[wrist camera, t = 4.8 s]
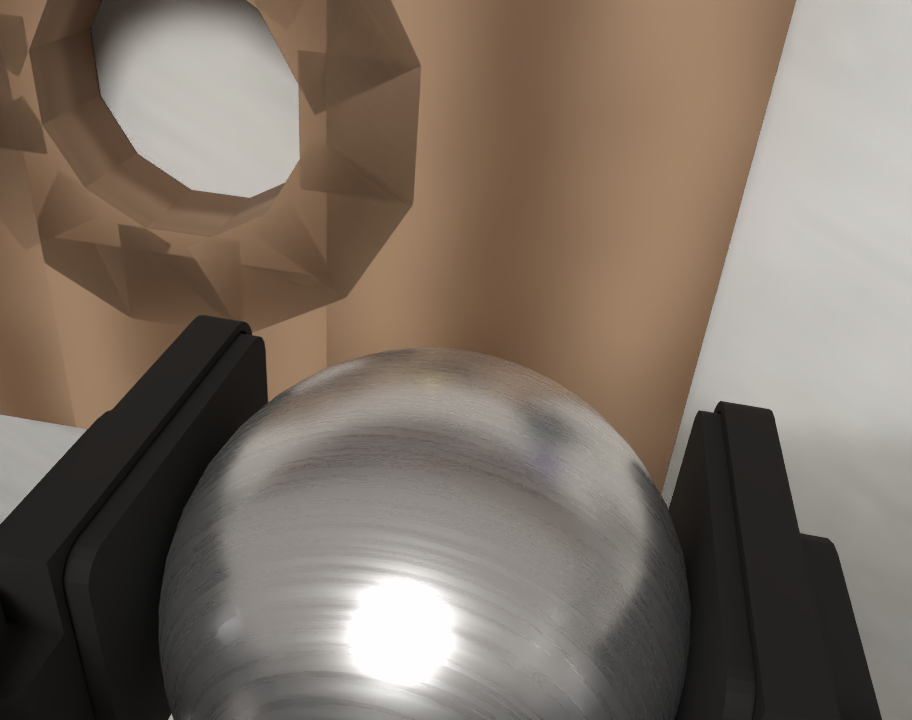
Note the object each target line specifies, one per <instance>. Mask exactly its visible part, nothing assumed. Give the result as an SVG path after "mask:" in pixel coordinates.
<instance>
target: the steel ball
mask: <svg viewBox="0 0 912 720" xmlns="http://www.w3.org/2000/svg"><path fill="white" fill-rule="evenodd" d="M690 619H691V602H690V596H689V589H688V582H687V575H686V569H685V563H684V556H683V552H682V549H681V546H680V543H679V540H678V537H677V534H676V531H675V528H674V525H673V522H672V520H671V517H670V514H669V511H668V508H667V505H666V503H665V502H664V500H663V498H662V496H661V494H660V492H659V490H658V488H657V487H656V485H655V483H654V481H653V479H652V478H651V476H650V474H649V473H648V471H647V469H646V468H645V466H644V464H643V463H642V462H641V460H640V459H639V457H638V456H637V455H636V453H635V452H634V451H633V449H632V448H631V447H630V445H629V444H628V443H627V441H626V440H625V439H624V438H623V437H622V436H621V435H620V434H619V433H618V432H617V431H616V430H615V429H614V428H613V427H612V426H611V425H610V424H609V423H608V422H607V421H606V420H605V419H604V418H603V417H602V416H601V415H600V414H599V413H598V412H597V411H596V410H595V409H593V408H592V407H591V406H590V405H588V404H587V403H586V402H585V401H583V400H582V399H581V398H580V397H578V396H577V395H576V394H574V393H573V392H571V391H570V390H568V389H566V388H565V387H563V386H561V385H560V384H558V383H557V382H555V381H553V380H552V379H550V378H548V377H546V376H544V375H542V374H539V373H537V372H535V371H533V370H531V369H529V368H527V367H525V366H522V365H519V364H516V363H513V362H510V361H507V360H504V359H501V358H498V357H495V356H490V355H486V354H481V353H477V352H472V351H467V350H458V349H449V348H440V347H430V348H404V349H396V350H388V351H382V352H378V353H374V354H370V355H366V356H362V357H358V358H354V359H350V360H346V361H343V362H340V363H338V364H336V365H333V366H331V367H328V368H326V369H323V370H321V371H318V372H317V373H315V374H313V375H311V376H309V377H307V378H305V379H303V380H302V381H300V382H298V383H297V384H295V385H293V386H291V387H290V388H288V389H286V390H285V391H283V392H281V393H280V394H278V395H277V396H276V397H274V398H273V399H272V400H271V401H270V402H268V403H267V404H266V405H265V406H264V407H262V408H261V409H260V410H259V411H258V412H256V413H255V414H254V415H253V416H252V417H250V418H249V419H248V420H247V421H246V422H245V423H243V424H242V425H241V426H240V427H239V428H238V430H237V431H236V432H235V433H234V434H233V436H232V437H231V438H230V439H229V440H228V441H227V443H226V444H225V445H224V446H223V447H222V449H221V450H220V451H219V452H218V454H217V455H216V456H215V457H214V458H213V460H212V461H211V462H210V463H209V465H208V466H207V468H206V470H205V472H204V473H203V475H202V477H201V479H200V481H199V482H198V484H197V486H196V488H195V489H194V491H193V493H192V495H191V497H190V498H189V500H188V502H187V504H186V506H185V507H184V509H183V512H182V515H181V518H180V520H179V523H178V526H177V529H176V532H175V535H174V537H173V540H172V543H171V546H170V549H169V552H168V555H167V559H166V564H165V570H164V576H163V582H162V587H161V596H160V604H159V651H160V662H161V668H162V674H163V680H164V686H165V691H166V695H167V699H168V703H169V707H170V710H171V713H172V716H173V719H174V720H674V718H675V716H676V713H677V711H678V707H679V703H680V698H681V694H682V690H683V686H684V681H685V676H686V669H687V661H688V653H689V645H690Z"/></svg>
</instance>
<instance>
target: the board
mask: <svg viewBox="0 0 912 720" xmlns="http://www.w3.org/2000/svg"><path fill="white" fill-rule="evenodd" d="M247 1H248V2H249V3H251V4H252V5H253V6H255V7H256V8H257V9H259V11H260V13H261V15H262V17H263V19H264V20H265V22H266V24H267V26H268V28H269V30H270V32H271V34H272V35H273V37H274V39H275V41H276V43H277V45H278V47H279V49H280V51H281V52H282V54H283V56H284V58H285V60H286V62H287V64H288V66H289V67H290V69H291V71H292V73H293V75H294V77H295V79H296V81H297V82H298V84H299V138H300V160H299V161H298V163H297V165H296V166H295V168H294V169H293V171H292V173H291V174H290V176H289V178H288V179H287V181H286V183H284V184H281V185H279V186H277V187H275V188H272V189H270V190H268V191H265V192H263V193H261V194H259V195H256V196H254V197H252V198H245V197H238V196H231V195H223V194H216V193H209V192H202V191H195V190H190V189H189V188H187V187H186V186H184V185H183V184H181V183H180V182H178V181H177V180H175V179H174V178H173V177H171V176H170V175H168V174H167V173H165V172H164V171H162V170H161V169H159V168H158V167H156V166H155V165H153V164H152V163H150V162H149V161H147V160H146V159H144V158H143V157H142V156H140V155H139V154H137V153H136V151H135V150H134V148H133V147H132V145H131V143H130V142H129V140H128V139H127V137H126V136H125V134H124V132H123V131H122V129H121V128H120V126H119V125H118V123H117V121H116V120H115V118H114V117H113V115H112V114H111V112H110V110H109V109H108V107H107V106H106V104H105V103H104V101H103V100H102V98H101V96H100V93H99V86H98V79H97V72H96V65H95V58H94V51H93V43H92V36H91V29H90V27H91V25H92V22H93V20H94V18H95V15H96V13H97V10H98V8H99V5H100V3H101V0H0V414H1V415H7V416H13V417H19V418H25V419H31V420H37V421H43V422H49V423H55V424H61V425H67V426H73V427H79V428H85V429H88V428H89V427H90V426H91V425H92V424H93V423H94V422H95V421H96V420H97V419H98V418H99V417H100V416H101V415H103V414H104V413H105V412H106V411H109V410H112V409H113V408H114V407H115V406H116V405H117V404H118V402H119V401H120V400H121V399H122V398H123V397H124V396H125V395H126V394H127V393H128V391H129V390H130V389H131V388H132V387H133V386H134V385H135V384H136V383H137V381H138V380H139V379H140V378H141V377H142V376H143V375H144V374H145V373H146V372H147V370H148V369H149V368H150V367H151V366H152V365H153V364H154V363H155V362H156V361H157V359H158V358H159V357H160V356H161V355H162V354H163V353H164V352H165V351H166V349H167V348H168V347H169V346H170V345H171V344H172V343H173V342H174V341H175V340H176V338H177V337H178V336H179V335H180V334H181V333H182V332H183V331H184V330H185V329H186V327H187V326H188V325H189V324H190V323H191V322H192V321H193V320H194V319H195V318H196V317H197V316H199V315H207V316H213V317H219V318H225V319H231V320H237V321H243V322H247V323H248V324H249V325H250V328H251V330H252V335H254V336H260V337H262V338H263V340H264V342H265V349H266V368H267V389H268V402H270V401H271V400H272V399H273V398H274V397H276V396H277V395H278V394H280V393H281V392H283V391H285V390H286V389H288V388H290V387H291V386H293V385H295V384H297V383H298V382H300V381H302V380H303V379H305V378H307V377H309V376H311V375H313V374H315V373H317V372H318V371H321V370H323V369H326V368H328V367H331V366H333V365H336V364H338V363H340V362H343V361H346V360H350V359H354V358H358V357H362V356H366V355H370V354H374V353H378V352H382V351H388V350H396V349H404V348H430V347H440V348H449V349H458V350H467V351H472V352H477V353H481V354H486V355H490V356H495V357H498V358H501V359H504V360H507V361H510V362H513V363H516V364H519V365H522V366H525V367H527V368H529V369H531V370H533V371H535V372H537V373H539V374H542V375H544V376H546V377H548V378H550V379H552V380H553V381H555V382H557V383H558V384H560V385H561V386H563V387H565V388H566V389H568V390H570V391H571V392H573V393H574V394H576V395H577V396H578V397H580V398H581V399H582V400H583V401H585V402H586V403H587V404H588V405H590V406H591V407H592V408H593V409H595V410H596V411H597V412H598V413H599V414H600V415H601V416H602V417H603V418H604V419H605V420H606V421H607V422H608V423H609V424H610V425H611V426H612V427H613V428H614V429H615V430H616V431H617V432H618V433H619V434H620V435H621V436H622V437H623V438H624V439H625V440H626V441H627V443H628V444H629V445H630V447H631V448H632V449H633V451H634V452H635V453H636V455H637V456H638V457H639V459H640V460H641V462H642V463H643V464H644V466H645V468H646V469H647V471H648V473H649V474H650V476H651V478H652V479H653V481H654V483H655V485H656V487H657V488H658V490H659V492H660V494H661V492H662V489H663V485H664V481H665V478H666V474H667V471H668V467H669V463H670V460H671V456H672V452H673V449H674V445H675V441H676V438H677V434H678V430H679V427H680V423H681V419H682V416H683V412H684V408H685V405H686V401H687V397H688V394H689V390H690V386H691V383H692V379H693V375H694V372H695V368H696V364H697V361H698V357H699V353H700V350H701V346H702V343H703V339H704V335H705V332H706V328H707V324H708V321H709V317H710V313H711V310H712V306H713V302H714V299H715V295H716V291H717V288H718V284H719V280H720V277H721V273H722V269H723V266H724V262H725V258H726V255H727V251H728V247H729V244H730V240H731V236H732V233H733V229H734V225H735V222H736V218H737V215H738V211H739V207H740V204H741V200H742V196H743V193H744V189H745V185H746V182H747V178H748V174H749V171H750V167H751V163H752V160H753V156H754V152H755V149H756V145H757V141H758V138H759V134H760V130H761V127H762V123H763V119H764V116H765V112H766V108H767V105H768V101H769V97H770V94H771V90H772V86H773V83H774V79H775V76H776V72H777V68H778V65H779V61H780V57H781V54H782V50H783V46H784V43H785V39H786V35H787V32H788V28H789V24H790V21H791V17H792V13H793V10H794V6H795V2H796V0H247Z"/></svg>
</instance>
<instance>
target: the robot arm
mask: <svg viewBox="0 0 912 720" xmlns="http://www.w3.org/2000/svg"><path fill="white" fill-rule="evenodd" d="M267 403H268V389H267V368H266V349H265V342H264V340H263V338H262V337H260V336H254V335H252V330H251V328H250V325H249V324H248V323H247V322H243V321H237V320H231V319H225V318H219V317H213V316H207V315H199V316H197V317H196V318H195V319H194V320H193V321H192V322H191V323H190V324H189V325H188V326H187V327H186V329H185V330H184V331H183V332H182V333H181V334H180V335H179V336H178V337H177V338H176V340H175V341H174V342H173V343H172V344H171V345H170V346H169V347H168V348H167V349H166V351H165V352H164V353H163V354H162V355H161V356H160V357H159V358H158V359H157V361H156V362H155V363H154V364H153V365H152V366H151V367H150V368H149V369H148V370H147V372H146V373H145V374H144V375H143V376H142V377H141V378H140V379H139V380H138V381H137V383H136V384H135V385H134V386H133V387H132V388H131V389H130V390H129V391H128V393H127V394H126V395H125V396H124V397H123V398H122V399H121V400H120V401H119V402H118V404H117V405H116V406H115V407H114V408H113V409H112V410H109V411H106V412H105V413H104V414H103V415H101V416H100V417H99V418H98V419H97V420H96V421H95V422H94V423H93V424H92V425H91V426H90V427H89V428H88V430H87V431H86V432H85V433H84V434H83V435H82V436H81V437H80V438H79V439H78V440H77V442H76V443H75V444H74V445H73V446H72V447H71V448H70V449H69V450H68V451H67V452H66V454H65V455H64V456H63V457H62V458H61V459H60V460H59V461H58V462H57V463H56V464H55V466H54V467H53V468H52V469H51V470H50V471H49V472H48V473H47V474H46V475H45V476H44V478H43V479H42V480H41V481H40V482H39V483H38V484H37V485H36V486H35V487H34V488H33V490H32V491H31V492H30V493H29V494H28V495H27V496H26V497H25V498H24V499H23V500H22V502H21V503H20V504H19V505H18V506H17V507H16V508H15V509H14V510H13V511H12V512H11V514H10V515H9V516H8V517H7V518H6V519H5V520H4V521H3V522H2V523H1V524H0V720H168V719H169V717H170V715H171V710H170V707H169V703H168V699H167V695H166V691H165V686H164V680H163V674H162V668H161V662H160V651H159V604H160V596H161V587H162V582H163V576H164V570H165V564H166V559H167V555H168V552H169V549H170V546H171V543H172V540H173V537H174V535H175V532H176V529H177V526H178V523H179V520H180V518H181V515H182V512H183V509H184V507H185V506H186V504H187V502H188V500H189V498H190V497H191V495H192V493H193V491H194V489H195V488H196V486H197V484H198V482H199V481H200V479H201V477H202V475H203V473H204V472H205V470H206V468H207V466H208V465H209V463H210V462H211V461H212V460H213V458H214V457H215V456H216V455H217V454H218V452H219V451H220V450H221V449H222V447H223V446H224V445H225V444H226V443H227V441H228V440H229V439H230V438H231V437H232V436H233V434H234V433H235V432H236V431H237V430H238V428H239V427H240V426H241V425H242V424H243V423H245V422H246V421H247V420H248V419H249V418H250V417H252V416H253V415H254V414H255V413H256V412H258V411H259V410H260V409H261V408H262V407H264V406H265V405H266V404H267ZM668 511H669V514H670V517H671V520H672V522H673V525H674V528H675V531H676V534H677V537H678V540H679V543H680V546H681V549H682V552H683V556H684V563H685V569H686V575H687V582H688V589H689V596H690V602H691V619H690V645H689V653H688V661H687V669H686V676H685V681H684V686H683V690H682V694H681V698H680V703H679V707H678V711H677V713H676V716H675V718H674V720H882V718H881V714H880V711H879V707H878V703H877V699H876V696H875V692H874V688H873V684H872V681H871V677H870V673H869V669H868V665H867V662H866V658H865V654H864V650H863V647H862V643H861V639H860V635H859V632H858V628H857V624H856V620H855V617H854V613H853V609H852V605H851V601H850V598H849V594H848V590H847V586H846V583H845V579H844V575H843V571H842V568H841V564H840V560H839V556H838V553H837V551H836V548H835V546H834V544H833V543H832V542H831V541H830V540H829V539H828V538H823V537H818V536H812V535H807V534H801V533H800V532H799V528H798V523H797V519H796V514H795V510H794V505H793V500H792V496H791V491H790V487H789V482H788V478H787V473H786V469H785V464H784V459H783V455H782V450H781V446H780V441H779V437H778V432H777V428H776V423H775V418H774V415H773V412H772V411H771V410H770V409H765V408H759V407H753V406H747V405H741V404H735V403H729V402H723V401H720V402H719V403H718V404H717V406H716V408H715V410H714V413H711V412H705V411H698V413H697V415H696V417H695V420H694V423H693V426H692V430H691V433H690V437H689V440H688V444H687V447H686V451H685V454H684V458H683V461H682V465H681V468H680V472H679V475H678V479H677V482H676V486H675V489H674V493H673V496H672V500H671V503H670V507H669V510H668Z"/></svg>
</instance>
